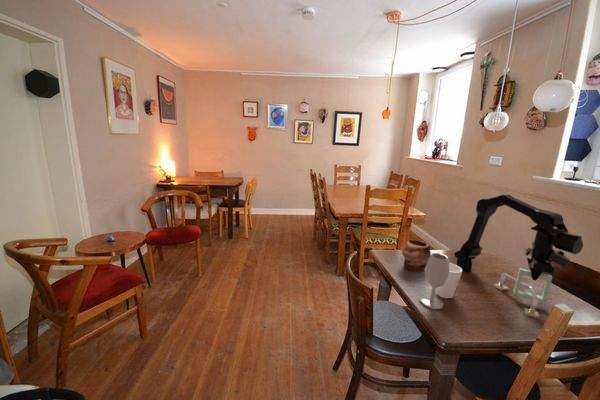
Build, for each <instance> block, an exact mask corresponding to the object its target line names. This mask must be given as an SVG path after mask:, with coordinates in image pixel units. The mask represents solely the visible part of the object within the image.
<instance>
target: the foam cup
mask: <svg viewBox="0 0 600 400" xmlns="http://www.w3.org/2000/svg"><path fill="white" fill-rule="evenodd" d="M462 273H463V271H462V269H461V268H460V267H459V266H457V265H456V263H455V264H454V263H452V262H449V275H448V278H447V280H446V282H445V284H444V285H443V286H440V287H437V288H436V290H435V294H437V295H438V296H440V297H441V298H443V299H447V298H451V299H453V297H454V294H455V292H456V289H457V286H458V283H459V282H460V278H462Z"/></svg>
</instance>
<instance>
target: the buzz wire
mask: <svg viewBox="0 0 600 400" xmlns="http://www.w3.org/2000/svg"><path fill="white" fill-rule="evenodd" d="M506 278H507V279H509V280H511V281H513V282H515V283H516V280H517V278H516V277H514V276H511V275H509V274H507V273H506V272H503V273H501V275H500V280H499V282H498V283H493V285H492V286H493V287H494V288H496V289H498V291H499V290H500V291H501V292H502V291H508V290H509V287H508V286H506V285H504V284H505V281H506ZM519 286H522V287H524V288H526V289H528V290H529V293H531V294H532V297H533V300H531V303H530V307H529V308H526V307H524V308H523V311H524V315H525V316H527V317H529V318H533V319H537V320H540V314H539V312H538V311H537V310H536V309H537V306H538V303H539V302H538V298H537V296H536V295H537V294H536V291H535V289H534V287H533V286H531V285H528V284H527V283H525V282H522V280H521V281H520V285H519Z"/></svg>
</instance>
